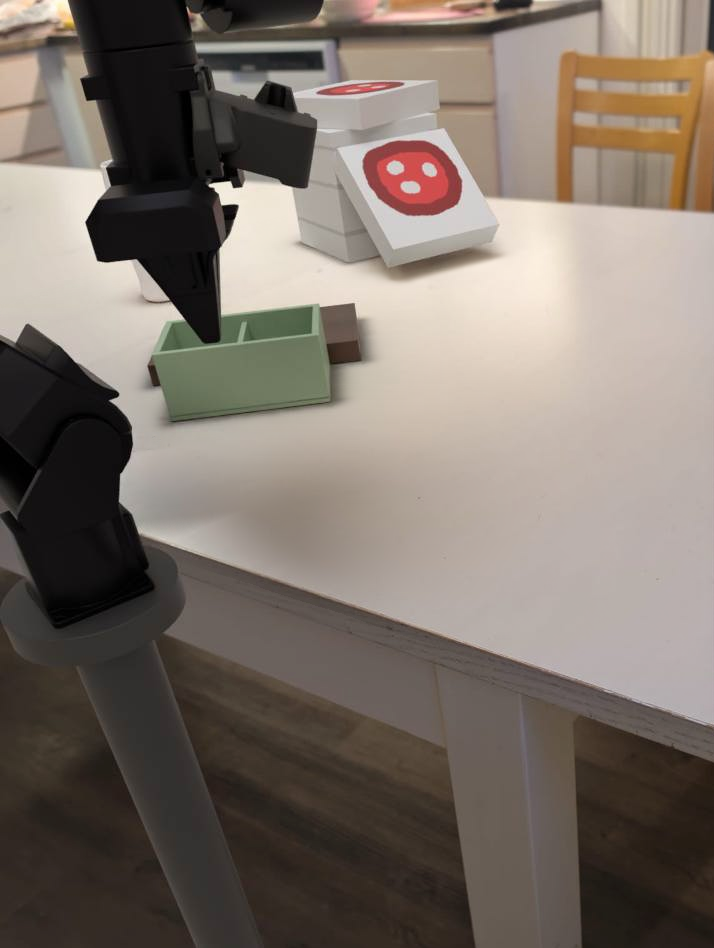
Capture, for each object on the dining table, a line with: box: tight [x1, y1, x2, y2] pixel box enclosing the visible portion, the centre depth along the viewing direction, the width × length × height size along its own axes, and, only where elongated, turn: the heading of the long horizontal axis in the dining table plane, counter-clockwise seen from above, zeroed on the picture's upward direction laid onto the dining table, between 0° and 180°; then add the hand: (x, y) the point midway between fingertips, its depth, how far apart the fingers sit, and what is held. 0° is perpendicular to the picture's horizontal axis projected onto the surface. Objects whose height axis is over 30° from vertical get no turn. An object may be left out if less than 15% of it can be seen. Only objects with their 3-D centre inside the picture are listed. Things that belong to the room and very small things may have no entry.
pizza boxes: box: [291, 79, 500, 269], centre depth 119 cm, size 19×30×18 cm, turn 33°
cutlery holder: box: [151, 303, 331, 422], centre depth 84 cm, size 9×14×6 cm, turn 98°
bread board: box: [146, 302, 362, 386], centre depth 94 cm, size 12×20×2 cm, turn 98°
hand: (212, 341), depth 58 cm, fingers closed
